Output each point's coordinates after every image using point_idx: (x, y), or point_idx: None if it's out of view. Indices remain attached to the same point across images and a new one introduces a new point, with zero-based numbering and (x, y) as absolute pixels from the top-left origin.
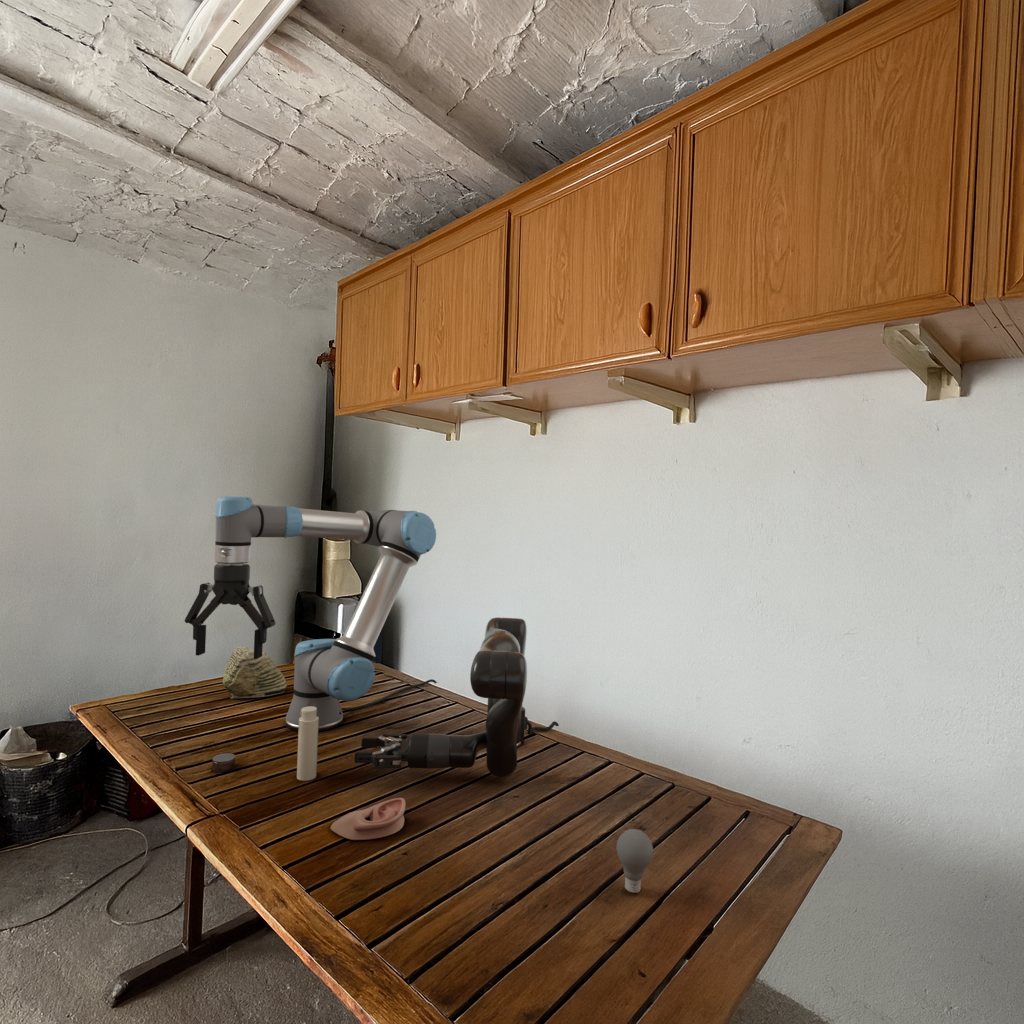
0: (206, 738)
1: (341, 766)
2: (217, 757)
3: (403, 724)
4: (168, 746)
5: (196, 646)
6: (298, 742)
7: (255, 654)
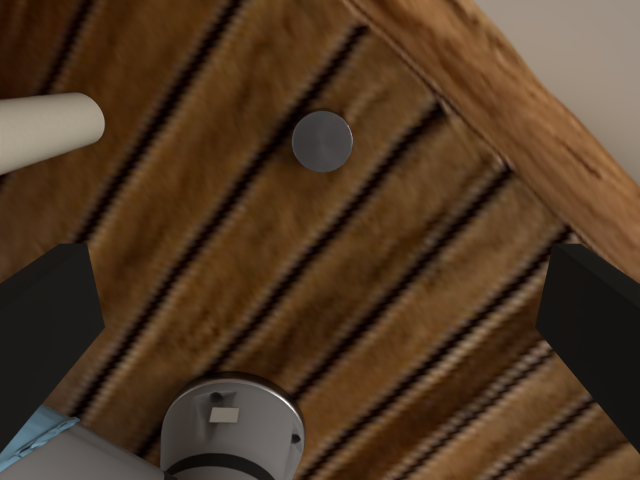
0: (454, 303)
1: (28, 196)
2: (339, 138)
3: None
4: (529, 243)
5: (623, 276)
6: (32, 110)
7: (52, 260)
